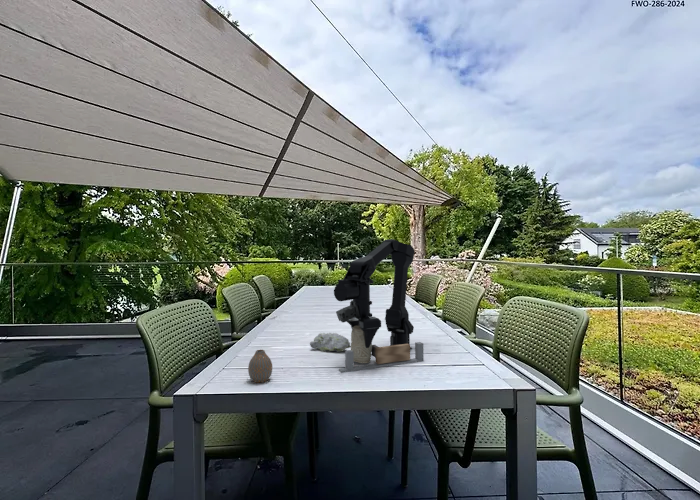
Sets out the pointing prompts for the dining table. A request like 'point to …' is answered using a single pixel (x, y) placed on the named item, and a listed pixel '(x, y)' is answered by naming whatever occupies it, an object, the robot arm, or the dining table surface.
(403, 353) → the brown boxy piece
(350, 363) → the grey bracket bar
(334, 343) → the rock
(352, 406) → the dining table surface
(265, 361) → the vase
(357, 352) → the carving
